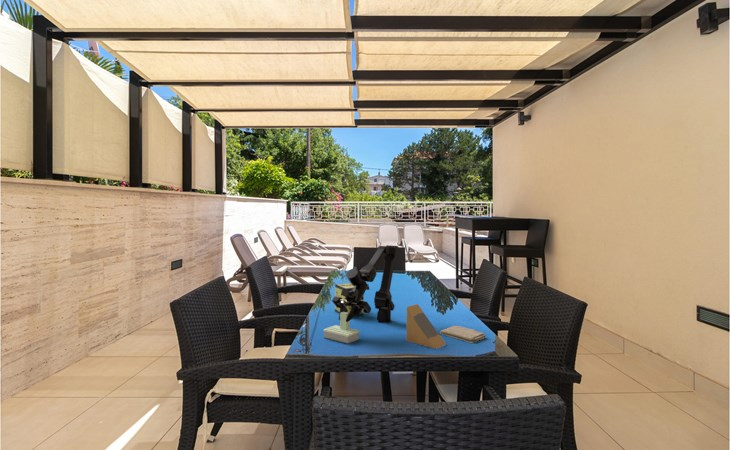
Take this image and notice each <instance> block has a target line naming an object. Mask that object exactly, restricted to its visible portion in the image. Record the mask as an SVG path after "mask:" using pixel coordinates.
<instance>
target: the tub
mask: <svg viewBox="0 0 730 450" xmlns="http://www.w3.org/2000/svg"><path fill="white" fill-rule="evenodd" d="M359 337H360V332H359V333H356V334H354V335H351V336H349V337H346V336H342V335H338V334H333V333H329V332H325V331H323V338H324V339H326V340H330V341H335V342H338V343H343V344H347V345H348V344H351V343H353V342H356V341H358V340H359V339H360V338H359Z"/></svg>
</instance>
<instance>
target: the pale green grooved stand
mask: <svg viewBox="0 0 730 450" xmlns="http://www.w3.org/2000/svg"><path fill="white" fill-rule="evenodd" d="M348 314H349V313H348V312H341V313H340V320H339V325H337V324H335V325H331V326H328V327H325V328H324V329H322V330H323V332H324V331H325V332H329V333H333V334H338V335H342V336H346V337H349V336H351V335H354V334H356V333H359V334H360V332H361V331H360V330H359V329H356V328H351V327H350V325H351V320H350V321H348V322H346V319H347V316H348Z"/></svg>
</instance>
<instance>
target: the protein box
mask: <svg viewBox="0 0 730 450" xmlns="http://www.w3.org/2000/svg"><path fill="white" fill-rule="evenodd" d="M353 287H354V286H353V285H352V284H351V283H350V282H348V283H335V285H334V289H335V290H334V297H341V298H342V299H343V300H345V301H347V300H346V299H345V296H343V295H341V292H342V289H343V288H346V289H351V290H352V289H353ZM363 298H364V299H363V300H361V301H364V300H365V294H364V295H363ZM347 310H348V313H349V312H350V310H351V307H350V306H347ZM363 310H364V309H362V311H361V312H362V313H361V314H358V315H357V316H355V317H362V316H363V317H364V311H363ZM334 312H335V313H337V314H338V315H339V314H340V308H337V307H336V306H335V305H334ZM355 317H354V318H355Z"/></svg>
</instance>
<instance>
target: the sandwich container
mask: <svg viewBox="0 0 730 450" xmlns="http://www.w3.org/2000/svg"><path fill="white" fill-rule="evenodd" d="M405 340H406V342H409V343H412V344H416V345H420V346H424V347H427V348H431V347H432V348H431V349H435V348H436V349H435V350H437V348H438V349H440V348H442V347H444V346H446V345H447V343H446V341H444V339H443V338H442V337H441V334H440V333H439V332H438V330H437V329H436V328H435V327H434V325H433V324H432V322H431V321H430V319H429V318H428V317H427V314H425V313H424V311H423V309H422V308H421V307H420V305H419V304H412V305H409V306H406V339H405ZM445 344H446V345H445ZM443 345H444V346H443ZM441 346H442V347H441Z"/></svg>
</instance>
